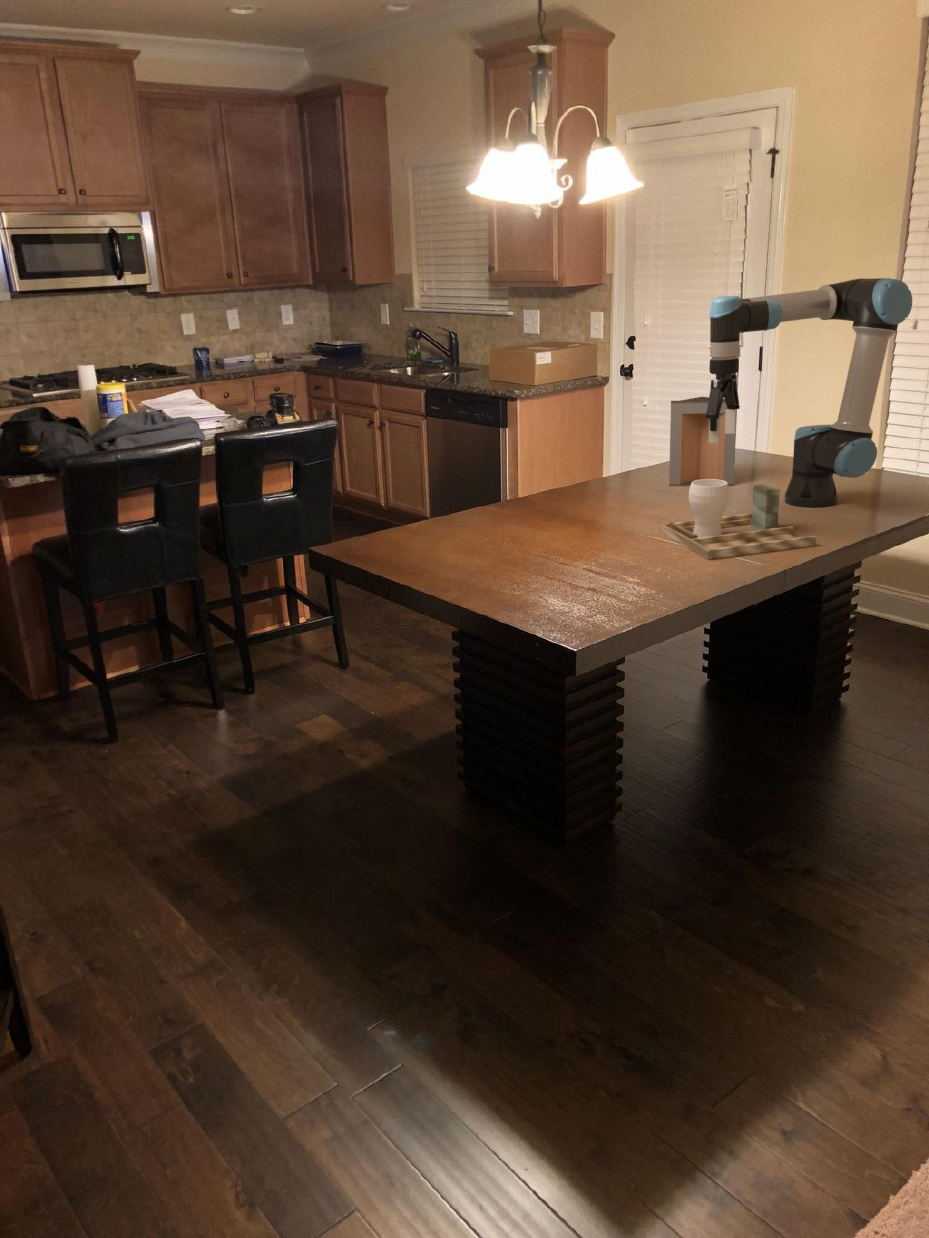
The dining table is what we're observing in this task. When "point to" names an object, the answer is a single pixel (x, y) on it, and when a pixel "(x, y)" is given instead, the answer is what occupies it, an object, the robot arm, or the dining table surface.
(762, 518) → the rail with green post
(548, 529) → the dining table surface
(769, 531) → the lane rails
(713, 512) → the cup
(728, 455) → the cabinet
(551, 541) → the dining table surface
